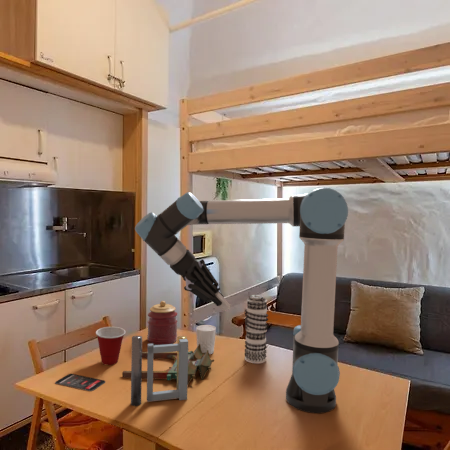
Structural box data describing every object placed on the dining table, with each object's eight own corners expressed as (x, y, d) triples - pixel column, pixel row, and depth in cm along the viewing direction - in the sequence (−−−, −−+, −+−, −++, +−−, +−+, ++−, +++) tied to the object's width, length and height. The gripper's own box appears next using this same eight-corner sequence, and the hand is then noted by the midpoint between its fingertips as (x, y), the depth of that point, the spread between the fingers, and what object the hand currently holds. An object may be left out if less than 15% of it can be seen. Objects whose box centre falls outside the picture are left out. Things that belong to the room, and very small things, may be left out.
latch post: (186, 391, 119) (187, 336, 118) (185, 396, 116) (186, 339, 115) (177, 391, 119) (178, 335, 118) (175, 395, 116) (176, 339, 115)
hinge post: (142, 401, 112) (143, 335, 112) (139, 406, 109) (140, 339, 109) (132, 400, 112) (133, 335, 112) (129, 406, 109) (130, 338, 109)
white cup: (194, 349, 155) (194, 325, 155) (212, 347, 158) (212, 324, 157) (198, 356, 148) (198, 331, 147) (217, 354, 150) (218, 330, 150)
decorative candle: (238, 357, 148) (240, 295, 147) (257, 352, 153) (258, 292, 152) (253, 365, 140) (254, 299, 139) (271, 360, 145) (273, 297, 144)
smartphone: (91, 390, 117) (54, 382, 122) (91, 392, 117) (54, 384, 122) (106, 380, 124) (70, 373, 129) (106, 382, 124) (70, 375, 129)
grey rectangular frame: (147, 404, 111) (148, 344, 110) (146, 400, 113) (147, 341, 112) (187, 399, 114) (188, 341, 113) (185, 395, 116) (186, 338, 116)
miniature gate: (144, 344, 151) (217, 343, 147) (144, 357, 151) (218, 357, 147) (117, 372, 124) (205, 372, 120) (118, 389, 124) (206, 389, 121)
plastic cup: (111, 370, 133) (111, 337, 132) (88, 364, 138) (89, 332, 137) (131, 360, 143) (131, 329, 142) (109, 354, 147) (110, 324, 147)
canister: (167, 333, 174) (167, 296, 173) (182, 341, 164) (183, 301, 163) (142, 339, 166) (142, 299, 165) (156, 347, 156) (157, 306, 155)
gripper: (177, 248, 118) (224, 297, 125) (161, 276, 108) (213, 327, 115) (193, 239, 114) (241, 290, 121) (178, 266, 104) (231, 320, 111)
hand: (227, 308), depth 118 cm, fingers closed
